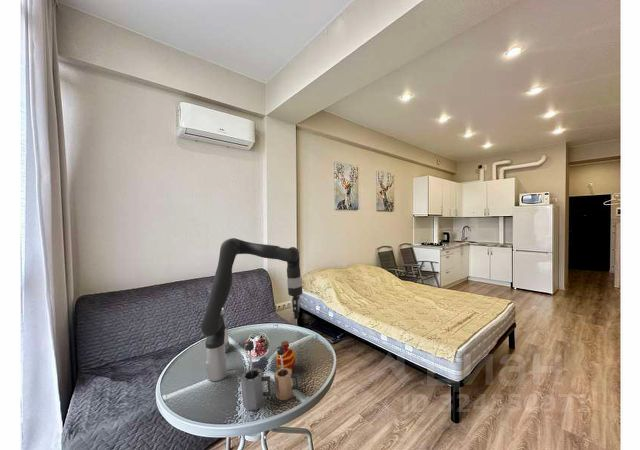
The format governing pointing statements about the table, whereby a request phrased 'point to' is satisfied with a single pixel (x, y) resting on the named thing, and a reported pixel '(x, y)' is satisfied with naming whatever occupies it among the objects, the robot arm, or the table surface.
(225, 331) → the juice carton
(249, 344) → the steel press plunger
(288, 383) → the tan handled cylinder
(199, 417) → the table surface
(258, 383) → the steel press carafe
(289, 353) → the potion bottle
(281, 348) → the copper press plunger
